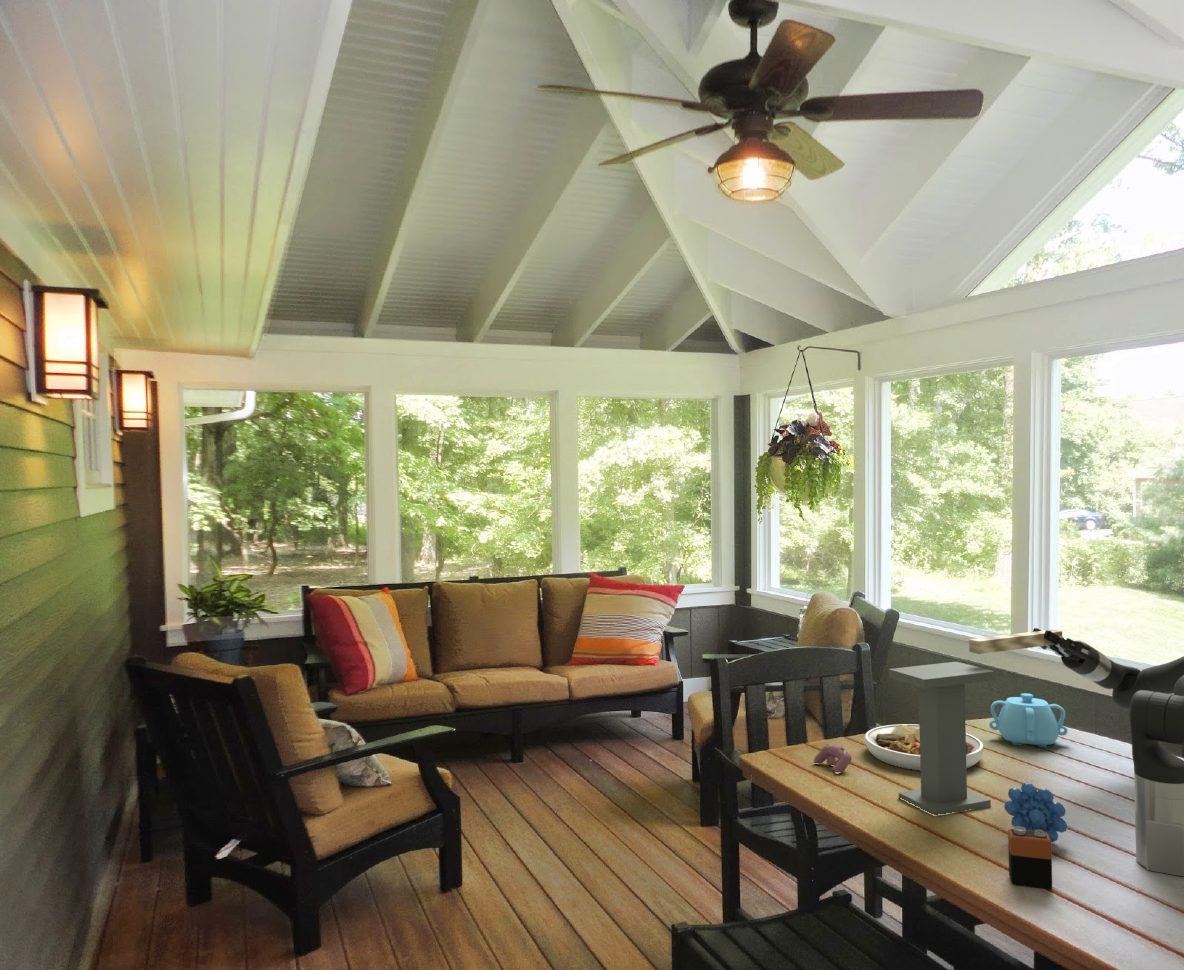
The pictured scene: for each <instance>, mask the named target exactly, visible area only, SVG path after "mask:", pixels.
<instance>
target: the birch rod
mask: <svg viewBox="0 0 1184 970" xmlns="http://www.w3.org/2000/svg"><path fill="white" fill-rule="evenodd" d="M1046 630H1047V629H1045V630H1041V631H1036V632H1033V631H1028V632H1027V631H1026V632H1020V633H1011V634H1004V635H1003V634H1001V635H995V636H985V637H979V638H970V639H968V643H969V644H968V646H969V653H973V654H978V655H983V654H989V653H991V654H992V653H998V652H1007V651H1014V650H1021V649H1029V648H1037V647H1039V648H1040V646H1047V645H1055V644H1053V643H1051V642H1050V641H1048V640H1046V639H1045V638H1044V634H1045V631H1046ZM1048 630H1049V631H1051V632H1053V633H1054V634H1056V635H1058V636H1062V637H1063V631H1062V630H1057V629H1048Z"/></svg>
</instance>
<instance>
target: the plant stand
mask: <svg viewBox="0 0 1184 970" xmlns="http://www.w3.org/2000/svg"><path fill="white" fill-rule="evenodd" d="M995 673H996V671H994V670H992V669H988V668H984V667H983V668H982V667H980V666H977V665H976V666H975V665H972V664H967V663H964V662H960V661H949V662H941V663H933V664H932V663H931V664H922V665H921V664H920V665H913V666H905V667H897V668H889V669H888V678H890V679H892V680H896V681H898V682H902V683H905V684H909V685H912V686H915V687H918V712H919V714H918V715H919V716H918V717H919V719H918V720H919V722H918V723H919V724H918V725H920V769H921V771H920V788H918V789H912V790H907V791H900V792H898V798H899V797H900V798H902V799H904V800H906V801H908V802H909V803H912V804H914V805H915V806H918V807H920V808H921V809H923V810H925V811H927V812H929V813H931V814H934V815H938V814H946V813H952V812H959V813H962V812H961V811H964V812H966V811H965V810H969V809H975V810H980V809H985V808H989V807H990V808H991V807H992V806H991V805H992V803H991V799H989V798H987V797H985V796H982V795H981V794H978V793H976V792H973V791H971V790H969V789H968V787H967V786H968V782H967V781H968V779H967V778H968V775H967V771H968V770H967V768H966V733H967V732H966V731H967V730H966V697H965V696H966V695H965V693H966V692H965V690H966V689H965V684H973V683H979V682H988V681H994V680H996V679H995V678H996V674H995ZM969 811H970V810H969Z"/></svg>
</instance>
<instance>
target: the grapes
mask: <svg viewBox="0 0 1184 970" xmlns="http://www.w3.org/2000/svg"><path fill="white" fill-rule="evenodd" d="M1007 795H1008V797H1009V799H1010V800H1008V801H1005V802H1004V805H1003V807H1004V811H1006V813H1007V814H1008V815H1010V816H1011V817H1012V818H1011V820H1010V821H1011V825H1012V826H1013V828H1014V827H1017V826H1019V827H1023V828H1025V830H1029V831H1035V830H1043V831H1044V832H1046V833H1047V834H1048V836H1049V838H1050V840H1051V843H1055V842H1057V841H1058V839H1059V834H1058V833H1064V832H1066V831H1067V830H1068V824H1067V821H1065V819H1064V818H1063V817H1065V816H1066V812H1067V811H1066V808H1065V806H1064V805H1063V804H1062V803H1061V802H1059V801H1054V800H1055V799H1054V798H1055V797H1054V794H1053V792H1052V791H1051V790H1050V789H1047V788H1044V787H1042V788H1039V789H1038V790H1037V788H1036V786H1035V785H1034V784H1032V783H1031V782H1024V783H1022V784H1021V787H1020V788H1017V787H1011V788H1009V789H1008V792H1007Z"/></svg>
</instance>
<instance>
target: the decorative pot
mask: <svg viewBox="0 0 1184 970" xmlns="http://www.w3.org/2000/svg"><path fill="white" fill-rule="evenodd" d="M997 705H1002V707H1001V710H1000V713H999V715H998V716H997V714H996V710H995V709H996V708H995V706H997ZM1052 709H1057V710H1059V711H1060V718H1059V720H1057V718H1056V715H1055V714H1054V712H1053V710H1052ZM990 713H991V716H992V718H993V720H990V721H989V728H990V729H991V730H993V731H999V733H1000V734H1001V736H1002V738H1003V739H1004V740H1006V741H1008V742H1011V744H1012V745H1015V746H1021V745H1022V744H1025V745H1026V744H1027V745H1036V747H1040V748H1047V747H1048V746H1047V745H1052V744H1054V743H1055V742H1056V741H1057V739H1058V738H1059V736H1066V735H1067V734H1068V728H1067V727H1066V726H1064V725H1063V723H1064V721H1065V718H1066V710H1065V708H1063V707H1062V705H1061V706H1060V705H1059V704H1057V703H1052V704H1049V703H1048V702H1047V701H1046V700H1045V699H1043V698H1035V697H1034V694H1032V693H1027V692H1026V693H1025V692H1024V693H1020V696H1011V697H1008V698H1006V700H1001V699H1000V700H996V701H993V702H992V704H991V705H990ZM993 724H995V726H994V725H993ZM1061 729H1062V730H1063V731H1061Z"/></svg>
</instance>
